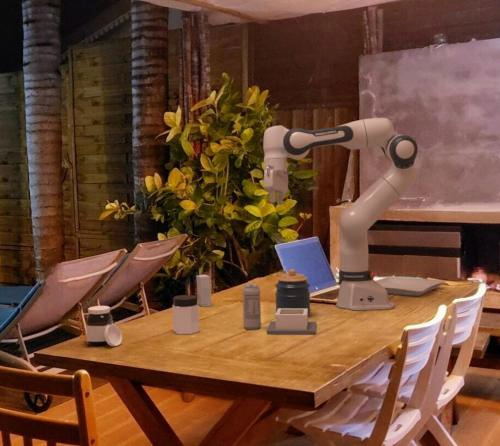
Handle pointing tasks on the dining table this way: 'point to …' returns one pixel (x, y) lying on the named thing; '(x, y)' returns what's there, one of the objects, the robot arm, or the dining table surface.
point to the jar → (185, 314)
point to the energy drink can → (251, 307)
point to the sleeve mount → (291, 322)
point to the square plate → (408, 285)
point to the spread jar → (102, 327)
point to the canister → (293, 291)
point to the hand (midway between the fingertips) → (276, 203)
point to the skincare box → (203, 290)
